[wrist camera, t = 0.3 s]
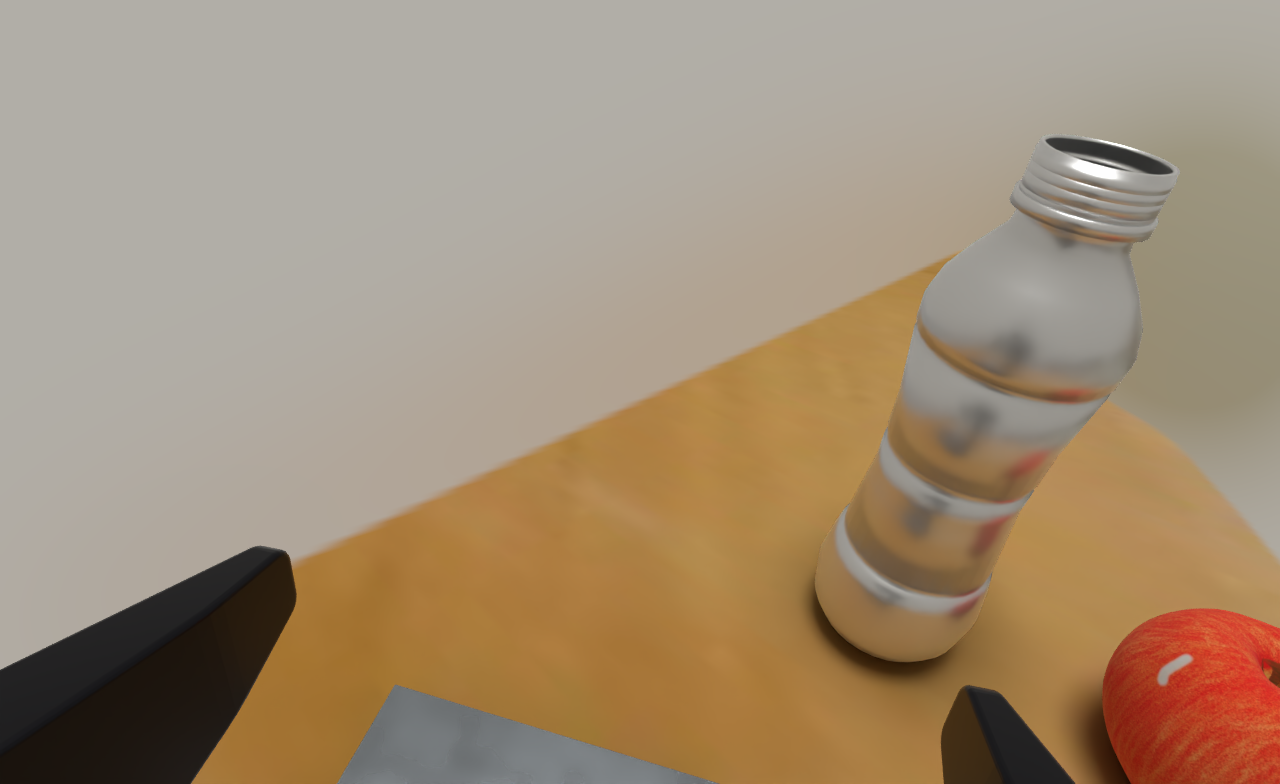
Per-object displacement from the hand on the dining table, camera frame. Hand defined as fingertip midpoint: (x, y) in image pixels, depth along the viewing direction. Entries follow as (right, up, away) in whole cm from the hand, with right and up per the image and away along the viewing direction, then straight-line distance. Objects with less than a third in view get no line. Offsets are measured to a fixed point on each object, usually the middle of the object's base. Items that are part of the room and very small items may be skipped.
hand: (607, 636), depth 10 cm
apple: (+20, -11, +17) cm, 29 cm away
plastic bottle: (+11, -7, +22) cm, 25 cm away
